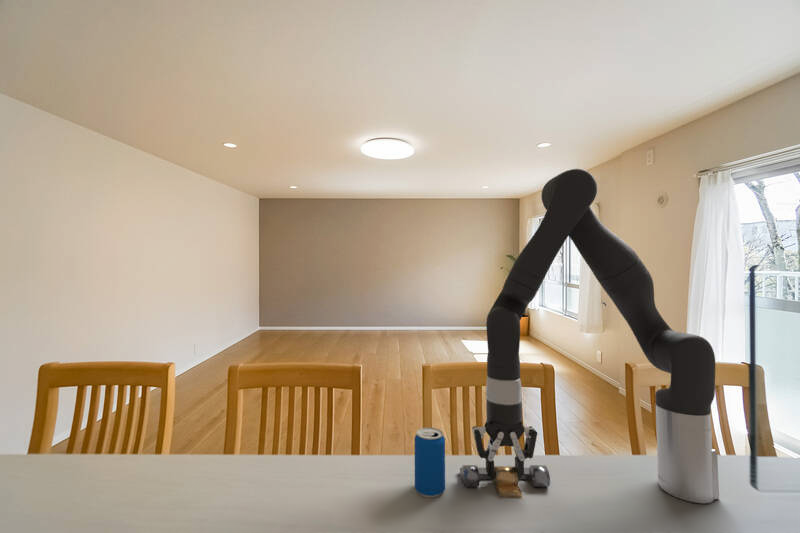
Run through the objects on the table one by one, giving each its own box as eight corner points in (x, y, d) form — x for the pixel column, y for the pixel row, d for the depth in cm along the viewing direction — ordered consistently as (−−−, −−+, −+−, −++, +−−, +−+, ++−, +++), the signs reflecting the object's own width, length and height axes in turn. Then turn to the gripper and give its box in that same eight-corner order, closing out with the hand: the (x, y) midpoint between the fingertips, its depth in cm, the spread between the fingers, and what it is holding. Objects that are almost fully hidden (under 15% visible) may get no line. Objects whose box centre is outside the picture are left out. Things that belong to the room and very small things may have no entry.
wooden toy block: (512, 481, 79) (512, 462, 79) (522, 498, 73) (521, 478, 73) (492, 481, 79) (492, 462, 79) (500, 498, 73) (499, 478, 73)
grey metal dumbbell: (537, 473, 82) (537, 455, 82) (550, 490, 75) (549, 471, 75) (459, 472, 82) (459, 455, 82) (465, 490, 75) (465, 471, 75)
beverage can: (444, 501, 71) (443, 440, 72) (412, 497, 72) (412, 437, 73) (446, 483, 77) (446, 427, 78) (417, 480, 79) (417, 425, 79)
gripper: (474, 403, 74) (475, 486, 73) (543, 403, 74) (544, 486, 73) (467, 392, 82) (468, 467, 81) (530, 392, 82) (531, 467, 81)
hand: (504, 476), depth 77 cm, fingers open, 5 cm apart
